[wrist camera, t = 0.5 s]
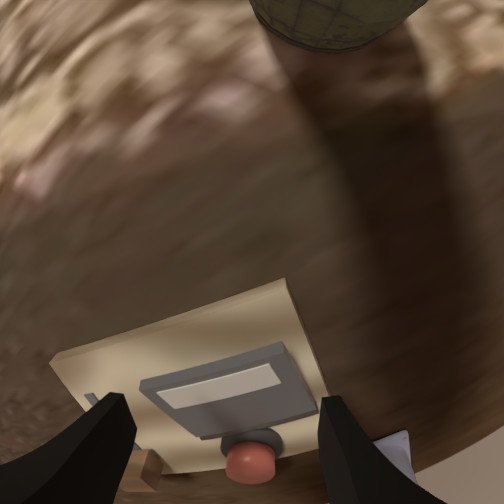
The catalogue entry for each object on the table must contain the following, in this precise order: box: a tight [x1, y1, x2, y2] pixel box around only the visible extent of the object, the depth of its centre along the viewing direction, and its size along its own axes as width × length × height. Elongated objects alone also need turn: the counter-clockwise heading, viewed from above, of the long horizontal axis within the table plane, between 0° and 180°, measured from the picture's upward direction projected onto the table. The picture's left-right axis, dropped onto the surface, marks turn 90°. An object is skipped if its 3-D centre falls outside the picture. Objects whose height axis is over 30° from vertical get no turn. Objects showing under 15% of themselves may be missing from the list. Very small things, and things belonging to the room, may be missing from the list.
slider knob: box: [119, 449, 164, 492], centre depth 22 cm, size 2×4×3 cm, turn 112°
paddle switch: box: [139, 341, 316, 437], centre depth 19 cm, size 7×9×1 cm
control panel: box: [49, 278, 331, 474], centre depth 22 cm, size 15×20×2 cm
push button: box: [226, 442, 275, 484], centre depth 20 cm, size 4×4×2 cm
